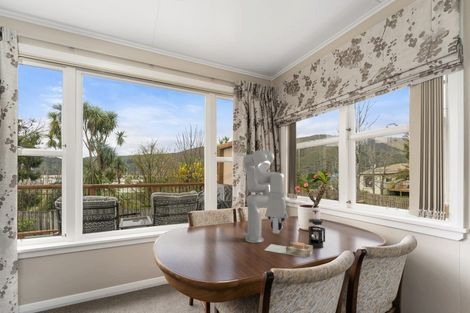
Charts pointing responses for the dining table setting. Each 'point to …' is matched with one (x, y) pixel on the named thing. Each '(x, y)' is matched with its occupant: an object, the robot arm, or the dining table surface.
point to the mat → (279, 249)
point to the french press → (315, 243)
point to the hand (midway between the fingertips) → (276, 228)
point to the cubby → (300, 250)
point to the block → (299, 245)
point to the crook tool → (276, 225)
